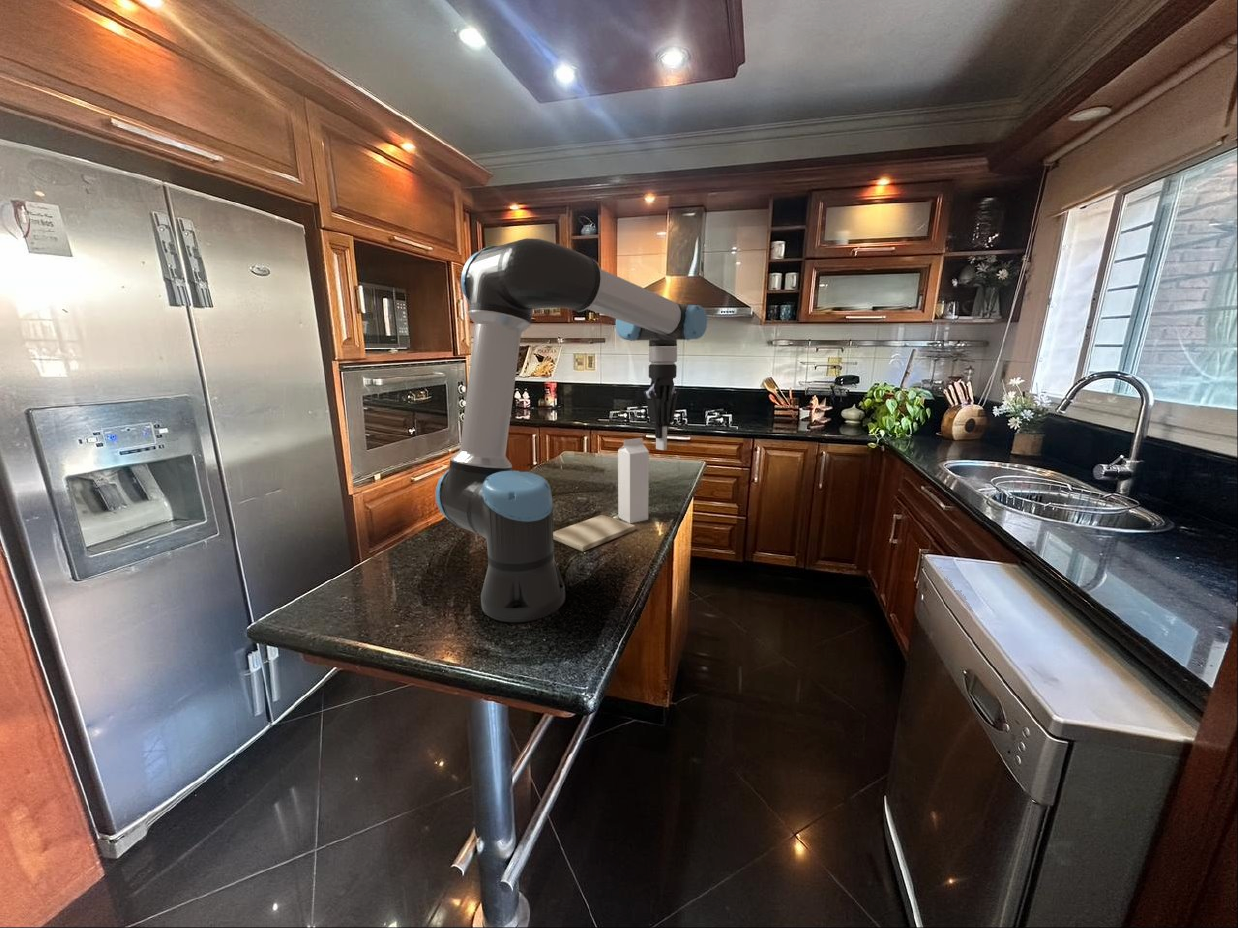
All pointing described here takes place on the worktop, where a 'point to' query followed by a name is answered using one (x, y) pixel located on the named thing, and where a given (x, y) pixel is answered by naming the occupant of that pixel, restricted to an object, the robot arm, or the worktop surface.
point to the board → (592, 532)
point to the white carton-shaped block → (633, 481)
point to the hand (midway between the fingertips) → (661, 449)
